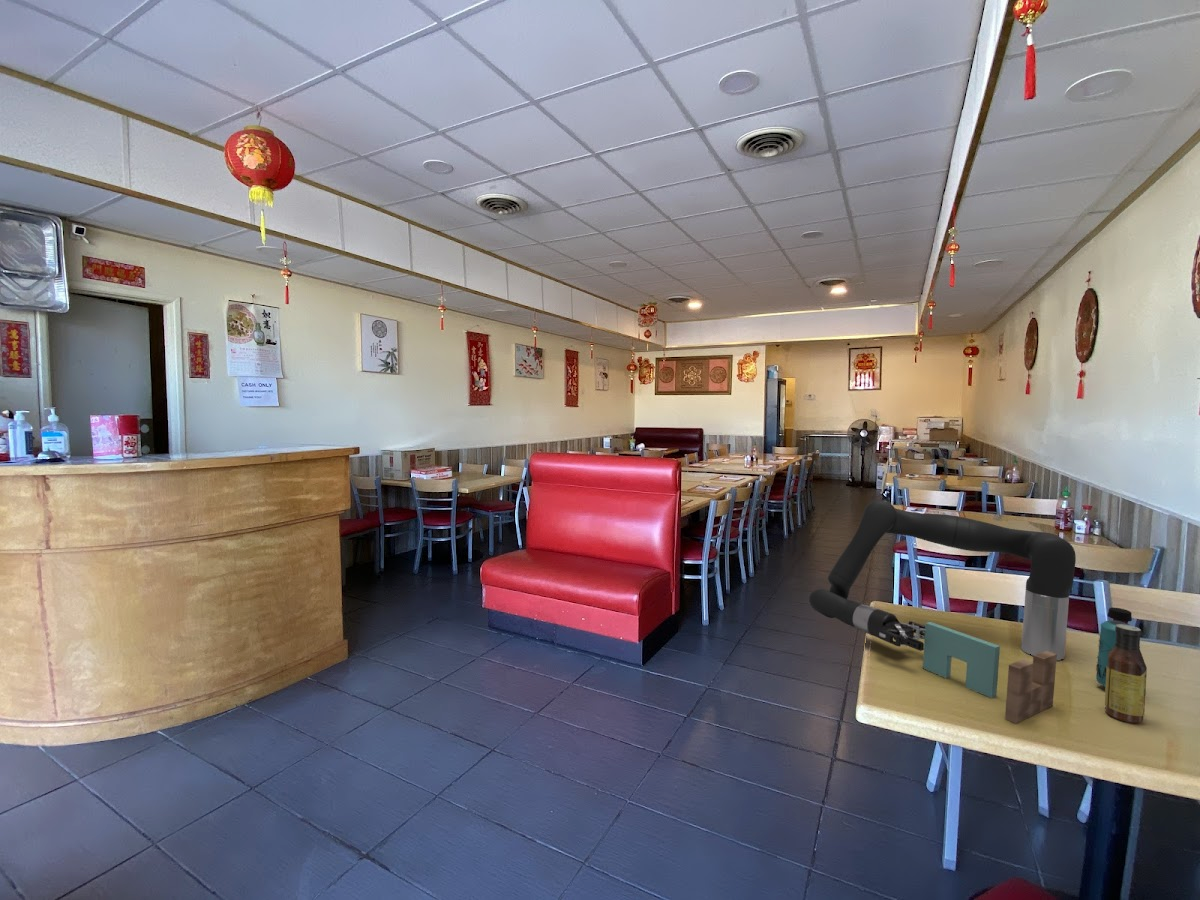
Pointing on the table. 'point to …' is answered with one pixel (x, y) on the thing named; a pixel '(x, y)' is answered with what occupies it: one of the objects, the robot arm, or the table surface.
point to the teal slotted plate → (962, 657)
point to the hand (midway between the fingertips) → (933, 643)
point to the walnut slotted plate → (1030, 686)
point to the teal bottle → (1109, 640)
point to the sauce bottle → (1126, 676)
